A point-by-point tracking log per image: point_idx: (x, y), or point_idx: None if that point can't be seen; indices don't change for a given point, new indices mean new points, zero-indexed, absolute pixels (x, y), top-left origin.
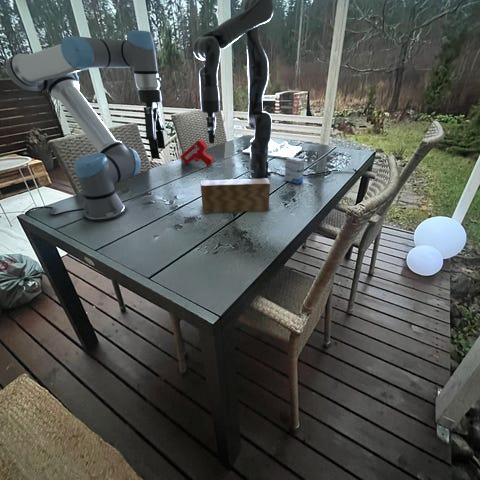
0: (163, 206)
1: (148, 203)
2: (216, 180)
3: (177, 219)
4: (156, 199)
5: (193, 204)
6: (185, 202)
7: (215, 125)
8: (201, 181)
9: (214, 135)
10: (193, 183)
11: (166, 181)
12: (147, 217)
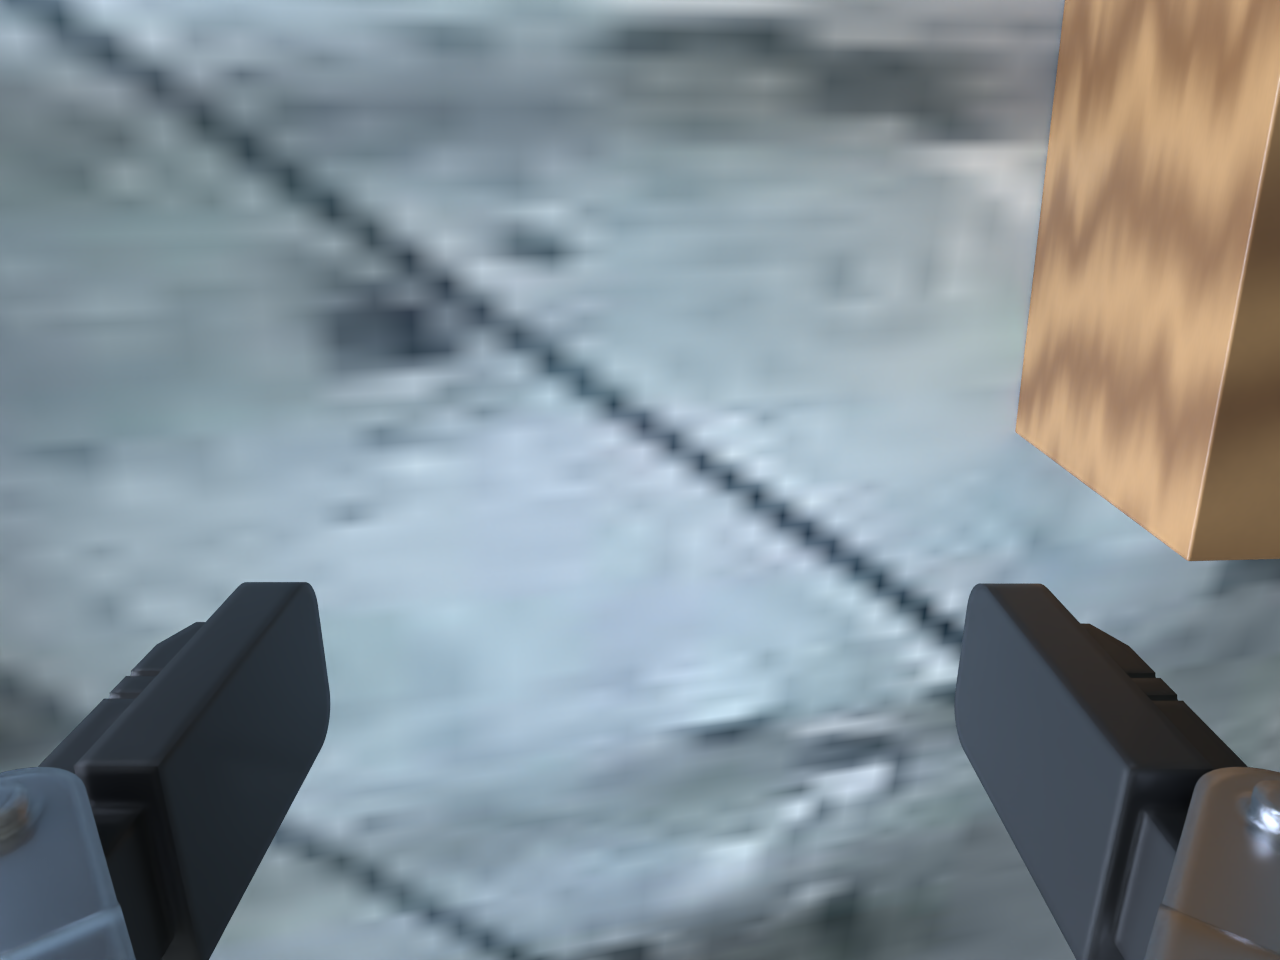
0: (934, 801)
1: (847, 925)
2: (1265, 330)
3: (1243, 647)
4: (763, 882)
5: (935, 542)
6: (871, 625)
7: (119, 914)
8: (1241, 557)
9: (272, 649)
10: (318, 603)
11: (278, 879)
12: None
